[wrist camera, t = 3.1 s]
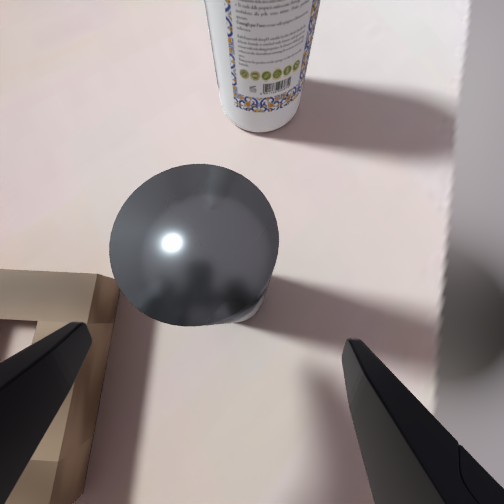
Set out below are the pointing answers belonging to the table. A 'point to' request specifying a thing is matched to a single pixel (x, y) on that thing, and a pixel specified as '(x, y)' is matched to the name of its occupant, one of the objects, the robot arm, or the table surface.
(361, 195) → the table surface
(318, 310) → the table surface
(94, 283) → the holder block
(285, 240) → the table surface
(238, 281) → the grey metal cylinder
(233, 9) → the bath foam
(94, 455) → the table surface
